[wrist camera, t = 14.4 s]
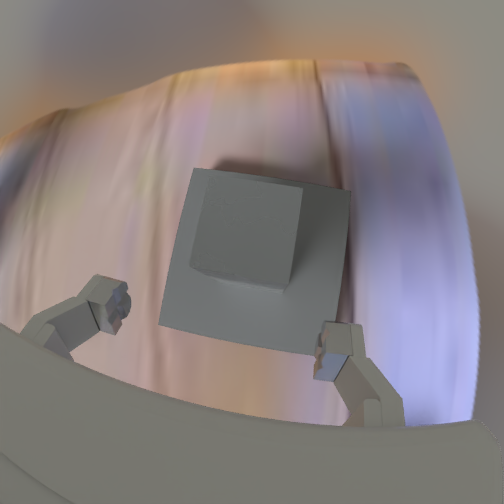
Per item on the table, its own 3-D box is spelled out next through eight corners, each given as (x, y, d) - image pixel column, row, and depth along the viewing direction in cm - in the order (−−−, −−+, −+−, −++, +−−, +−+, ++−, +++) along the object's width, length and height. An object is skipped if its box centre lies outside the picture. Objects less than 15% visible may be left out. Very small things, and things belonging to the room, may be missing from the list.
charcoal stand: (170, 323, 26) (158, 324, 23) (201, 181, 28) (193, 167, 25) (321, 352, 25) (328, 357, 22) (343, 202, 27) (351, 191, 24)
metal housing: (219, 282, 23) (188, 266, 15) (231, 222, 24) (209, 175, 15) (281, 293, 23) (288, 284, 14) (291, 231, 24) (303, 188, 15)
